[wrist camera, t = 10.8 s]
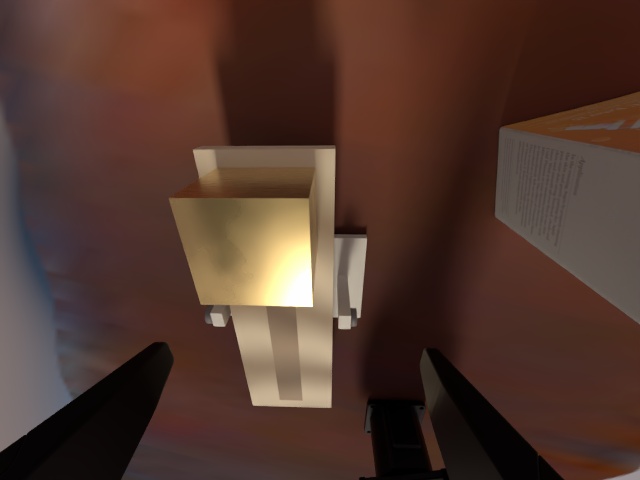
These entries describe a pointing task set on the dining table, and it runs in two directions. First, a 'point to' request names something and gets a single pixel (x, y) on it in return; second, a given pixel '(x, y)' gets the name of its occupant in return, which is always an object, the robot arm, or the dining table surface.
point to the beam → (288, 321)
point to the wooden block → (250, 235)
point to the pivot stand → (344, 283)
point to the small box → (579, 193)
